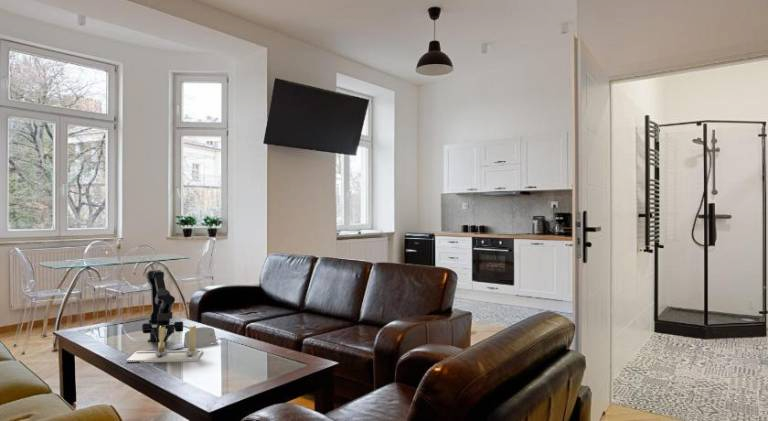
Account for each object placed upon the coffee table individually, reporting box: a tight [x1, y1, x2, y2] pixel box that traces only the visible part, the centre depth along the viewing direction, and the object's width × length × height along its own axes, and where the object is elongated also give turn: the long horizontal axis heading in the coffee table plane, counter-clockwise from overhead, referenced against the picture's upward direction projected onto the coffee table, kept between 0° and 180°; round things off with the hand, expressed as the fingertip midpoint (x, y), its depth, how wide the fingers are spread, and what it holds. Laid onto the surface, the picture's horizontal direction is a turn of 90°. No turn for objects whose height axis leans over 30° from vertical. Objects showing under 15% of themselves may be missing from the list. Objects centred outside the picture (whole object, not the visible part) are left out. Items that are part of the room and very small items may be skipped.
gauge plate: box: [126, 325, 204, 363], centre depth 230 cm, size 14×32×15 cm, turn 100°
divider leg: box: [155, 326, 168, 356], centre depth 229 cm, size 7×4×14 cm
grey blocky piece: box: [183, 326, 218, 349], centre depth 254 cm, size 17×5×10 cm, turn 126°
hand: (161, 342), depth 229 cm, fingers closed on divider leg, 3 cm apart
